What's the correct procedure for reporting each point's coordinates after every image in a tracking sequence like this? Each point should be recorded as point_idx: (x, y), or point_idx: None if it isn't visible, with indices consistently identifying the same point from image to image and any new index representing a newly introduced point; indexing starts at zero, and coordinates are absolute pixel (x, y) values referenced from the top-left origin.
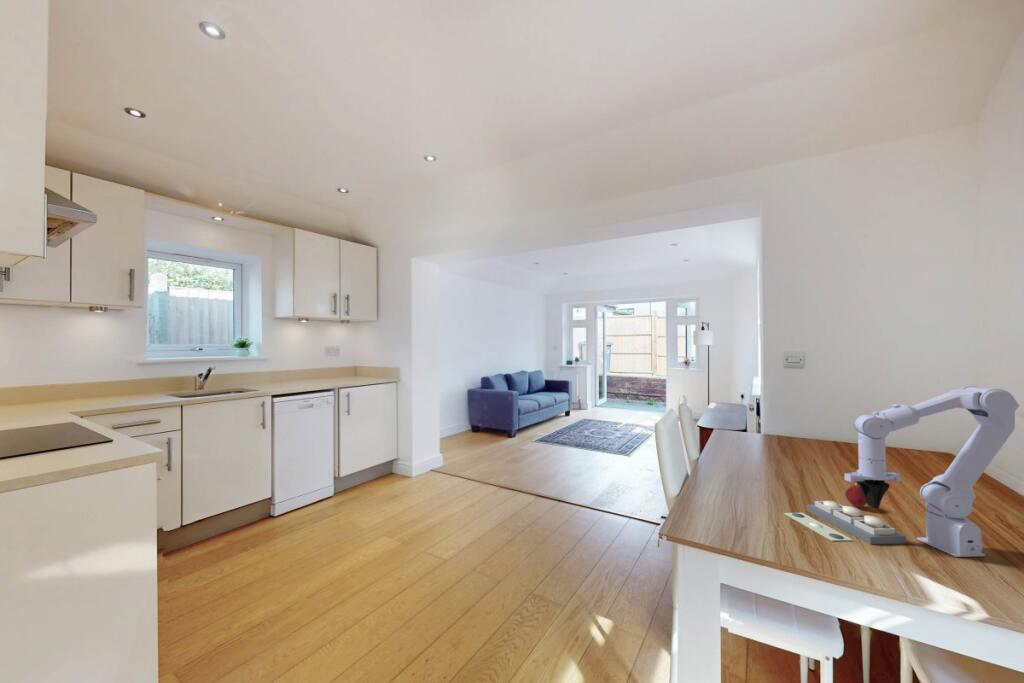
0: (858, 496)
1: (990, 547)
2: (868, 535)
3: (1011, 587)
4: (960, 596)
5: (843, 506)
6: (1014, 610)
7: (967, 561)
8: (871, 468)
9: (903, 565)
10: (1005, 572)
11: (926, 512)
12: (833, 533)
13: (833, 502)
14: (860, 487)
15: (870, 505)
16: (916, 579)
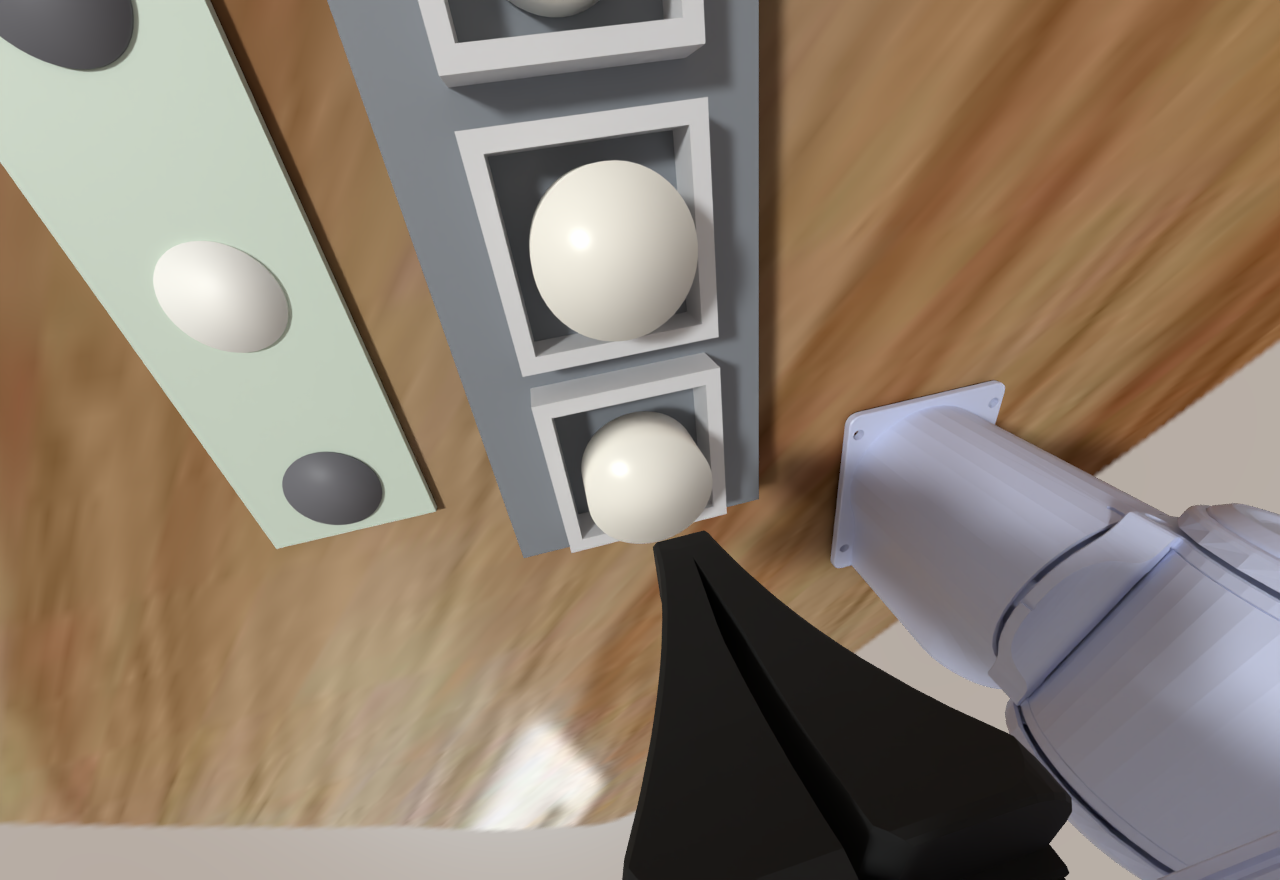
0: None
1: (1090, 430)
2: (524, 542)
3: None
4: (576, 785)
5: (561, 191)
6: None
7: (839, 579)
8: None
9: (538, 677)
10: (878, 620)
11: (1013, 568)
12: (333, 443)
13: None
14: (652, 741)
15: (659, 580)
16: (510, 749)
